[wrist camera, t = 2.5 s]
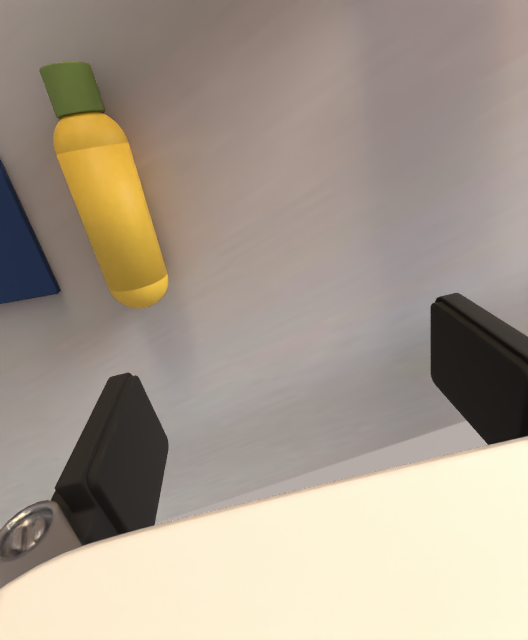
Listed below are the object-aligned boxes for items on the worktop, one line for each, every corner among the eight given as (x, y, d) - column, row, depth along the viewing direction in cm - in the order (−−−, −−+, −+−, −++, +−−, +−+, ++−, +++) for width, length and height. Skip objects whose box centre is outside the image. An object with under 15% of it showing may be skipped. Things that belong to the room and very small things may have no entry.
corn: (45, 79, 23) (7, 67, 19) (113, 67, 23) (90, 53, 19) (126, 299, 30) (111, 323, 26) (178, 289, 30) (170, 312, 26)
